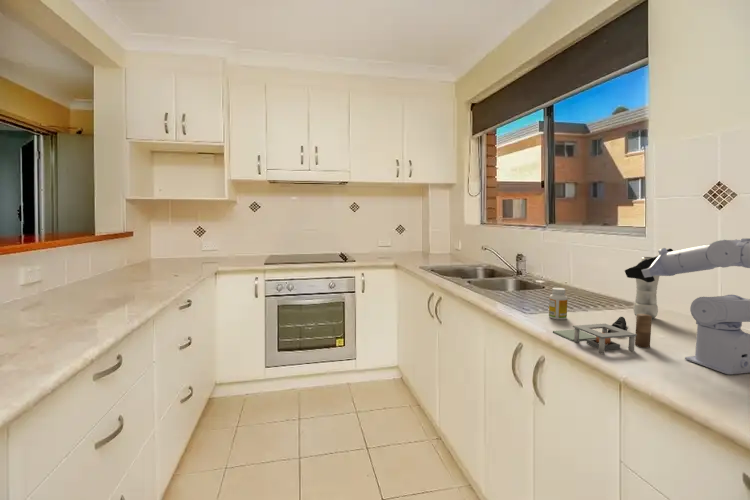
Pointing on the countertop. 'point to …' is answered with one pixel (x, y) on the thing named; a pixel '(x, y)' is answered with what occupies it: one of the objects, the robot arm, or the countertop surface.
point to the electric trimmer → (619, 324)
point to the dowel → (643, 330)
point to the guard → (604, 336)
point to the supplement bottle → (558, 304)
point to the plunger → (607, 340)
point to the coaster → (570, 335)
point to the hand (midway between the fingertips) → (636, 269)
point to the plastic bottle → (646, 296)
